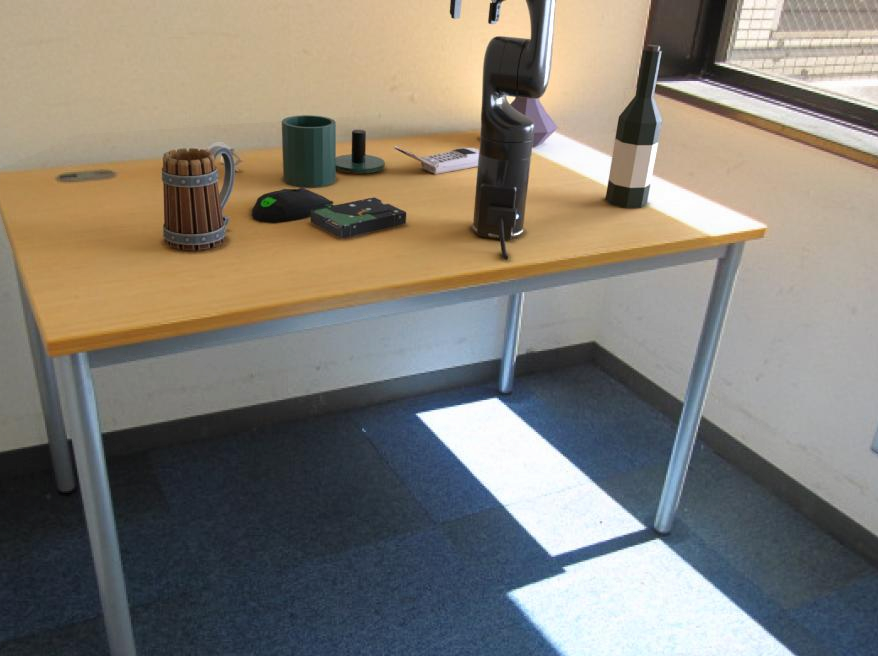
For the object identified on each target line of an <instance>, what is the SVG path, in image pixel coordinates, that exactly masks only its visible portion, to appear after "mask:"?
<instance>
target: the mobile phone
mask: <svg viewBox="0 0 878 656" xmlns="http://www.w3.org/2000/svg"><path fill="white" fill-rule="evenodd" d="M393 147H394V149H395V150H396V151H398V152H400V153H402V154H404V155H406V156H408V157H410V158H412V159H414V160H415V161H417V162H420V166H421V169H423V170H425V171H426V172H429V173H432V174H433V175H437V174H444V173H449V172H454V171H455V172H456V171H460V170H466V169H471V168H476V167H478V158H479V149H478V148H473V147H460V148H454V149H452V150H451V151H447V152H441V153H436V154H432V155H427V156H421V157H420V156H418V155H416V154H415V153H413V152H409V151H406V150H404V149H403V148H402V149H401V147H398V146H397V145H394V146H393Z"/></svg>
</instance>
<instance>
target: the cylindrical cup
mask: <svg viewBox="0 0 878 656" xmlns="http://www.w3.org/2000/svg"><path fill="white" fill-rule="evenodd" d="M336 122H337V121H335V120H334V119H333V118H331V117H327V116H321V115H313V114H311V115H310V114H309V115H307V114H303V115H293V116H288V117H285V118H283V119H282V120H281V145H282V149H281V150H282V178H283V181H284V183H286V184H287V185H291V186H292V187H293V186H294V187H298V188H322V187H327V186H331V185H332V184H334V183H335V182H336V173H337V172H336V170H337V169H336V157H337V156H336V152H337V151H336V150H337V149H336V147H337V146H336V145H337V142H336V137H337V135H336V131H337V129H336V128H337V127H336V126H337V125H336Z"/></svg>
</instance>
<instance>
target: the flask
mask: <svg viewBox="0 0 878 656" xmlns="http://www.w3.org/2000/svg"><path fill="white" fill-rule="evenodd" d="M509 104H510V105H511V106H512V107H513V108H514V109H516V110H517V111H518V112H520V113H522V114H523V115H525V116H527V117H529V118H530V119H531V120H532V121H533V122H534V126H535V128H534V137H533V145H532V148H536V147H539V146H541V145H542V144H543V143H544V142H546V140H548V138H549V137H550V136H552V134H553V133H555V131H556V130H557V129H559V126H558V125H557V124H556V123H555V121H554V120H553V119H552V117H551V116H550V115H549V114H548V112H547V110H546V109H545V107H544V106H543V104H542V102H541V101H540V98H538V99H529V98H520V97H514V99H513V100H512V102H511V103H509Z"/></svg>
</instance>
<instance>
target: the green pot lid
mask: <svg viewBox="0 0 878 656" xmlns="http://www.w3.org/2000/svg"><path fill="white" fill-rule="evenodd" d="M366 136H367V132H366V130H364V129H353V130H352V131H351V154H350V153H349V154H342V155H339V156H336V170H338V171H340V172H345V173H351V174H371V173H376V172H379V171H380V172H381V171H382V170H383V169H385V167H386V161H385V160H384V159H383V158H381V157H378V156H376V155H370V154H366V147H367V145H366V144H367V143H366V142H367V141H366V139H367V137H366Z"/></svg>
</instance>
